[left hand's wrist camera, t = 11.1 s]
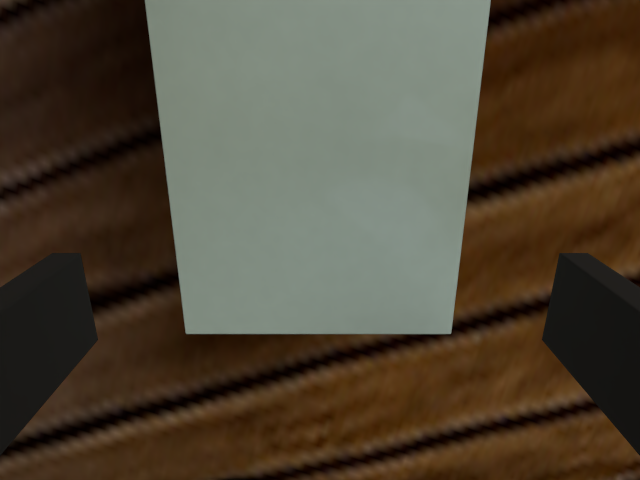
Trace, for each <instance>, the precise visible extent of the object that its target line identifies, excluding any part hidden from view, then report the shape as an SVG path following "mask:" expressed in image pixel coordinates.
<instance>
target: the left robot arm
mask: <svg viewBox="0 0 640 480" xmlns="http://www.w3.org/2000/svg"><path fill="white" fill-rule="evenodd" d="M97 340H98V338H97V333H96V328H95V323H94V318H93V313H92V308H91V303H90V298H89V293H88V288H87V284H86V279H85V274H84V269H83V264H82V259H81V254H80V253H52V254H50V255H49V256H47V257H46V258H44V259H43V260H41V261H40V262H38V263H37V264H35V265H34V266H32V267H31V268H29V269H28V270H26V271H25V272H23V273H22V274H20V275H19V276H17V277H16V278H14V279H13V280H11V281H9V282H8V283H6V284H5V285H3V286H2V287H0V455H1V454H2V453H3V452H4V450H5V449H6V448H7V447H8V446H9V444H10V443H11V442H12V441H13V440H14V439H15V437H16V436H17V435H18V434H19V433H20V431H21V430H22V429H23V428H24V427H25V426H26V424H27V423H28V422H29V421H30V420H31V418H32V417H33V416H34V415H35V414H36V413H37V411H38V410H39V409H40V408H41V407H42V405H43V404H44V403H45V402H46V401H47V399H48V398H49V397H50V396H51V395H52V394H53V392H54V391H55V390H56V389H57V388H58V386H59V385H60V384H61V383H62V382H63V381H64V379H65V378H66V377H67V376H68V375H69V373H70V372H71V371H72V370H73V369H74V367H75V366H76V365H77V364H78V363H79V362H80V360H81V359H82V358H83V357H84V356H85V354H86V353H87V352H88V351H89V350H90V349H91V347H92V346H93V345H94V344H95V343H96V341H97ZM542 340H543V341H544V343H545V344H546V345H547V346H548V347H549V349H550V350H551V351H552V352H553V353H554V354H555V356H556V357H557V358H558V359H559V360H560V362H561V363H562V364H563V365H564V366H565V367H566V369H567V370H568V371H569V372H570V373H571V375H572V376H573V377H574V378H575V379H576V381H577V382H578V383H579V384H580V385H581V386H582V388H583V389H584V390H585V391H586V392H587V394H588V395H589V396H590V397H591V398H592V399H593V401H594V402H595V403H596V404H597V405H598V407H599V408H600V409H601V410H602V411H603V413H604V414H605V415H606V416H607V417H608V418H609V420H610V421H611V422H612V423H613V424H614V426H615V427H616V428H617V429H618V430H619V431H620V433H621V434H622V435H623V436H624V437H625V439H626V440H627V441H628V442H629V443H630V444H631V446H632V447H633V448H634V449H635V450H636V452H637V453H638V454H639V455H640V287H638V286H637V285H635V284H634V283H632V282H631V281H629V280H627V279H626V278H624V277H623V276H621V275H620V274H618V273H617V272H615V271H614V270H612V269H611V268H609V267H608V266H606V265H605V264H603V263H602V262H600V261H599V260H597V259H596V258H594V257H593V256H591V255H590V254H588V253H560V254H559V259H558V264H557V269H556V274H555V279H554V284H553V288H552V293H551V298H550V303H549V308H548V313H547V318H546V323H545V328H544V333H543V338H542ZM231 480H246V479H231Z"/></svg>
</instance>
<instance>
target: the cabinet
mask: <svg viewBox="0 0 640 480" xmlns="http://www.w3.org/2000/svg"><path fill="white" fill-rule="evenodd" d="M490 1H491V0H145V6H146V14H147V22H148V30H149V38H150V47H151V55H152V63H153V71H154V79H155V87H156V95H157V104H158V112H159V120H160V128H161V136H162V144H163V152H164V161H165V169H166V177H167V185H168V193H169V201H170V209H171V218H172V226H173V234H174V242H175V250H176V258H177V266H178V274H179V283H180V291H181V299H182V307H183V315H184V323H185V331H186V334H451V330H452V322H453V313H454V305H455V296H456V288H457V279H458V271H459V263H460V254H461V246H462V237H463V229H464V220H465V212H466V204H467V195H468V187H469V178H470V170H471V161H472V153H473V145H474V136H475V128H476V119H477V111H478V102H479V94H480V86H481V77H482V69H483V60H484V52H485V43H486V35H487V27H488V18H489V10H490Z"/></svg>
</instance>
